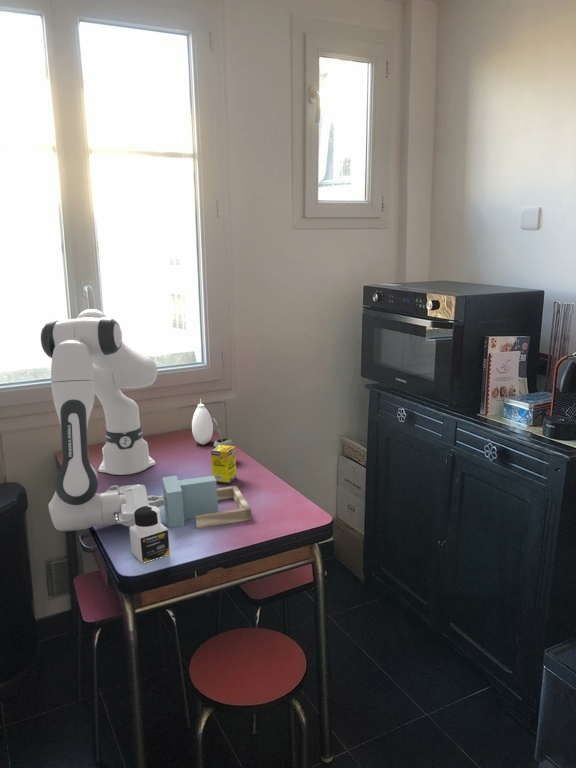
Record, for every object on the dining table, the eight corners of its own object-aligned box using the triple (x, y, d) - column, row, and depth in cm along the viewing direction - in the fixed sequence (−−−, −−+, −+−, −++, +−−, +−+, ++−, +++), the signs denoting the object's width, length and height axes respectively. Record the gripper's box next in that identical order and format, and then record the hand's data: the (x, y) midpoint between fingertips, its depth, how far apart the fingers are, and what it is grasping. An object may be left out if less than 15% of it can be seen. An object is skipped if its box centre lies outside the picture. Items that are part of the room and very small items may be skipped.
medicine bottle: (142, 564, 148) (138, 517, 146) (131, 553, 154) (126, 508, 151) (170, 555, 152) (166, 509, 150) (158, 544, 158) (154, 500, 155)
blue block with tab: (164, 510, 178) (162, 477, 176) (213, 503, 182) (211, 470, 180) (169, 527, 167) (166, 493, 165) (221, 519, 171) (218, 485, 169)
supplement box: (229, 485, 195) (227, 451, 193) (212, 483, 197) (210, 450, 195) (237, 478, 201) (235, 445, 199) (220, 476, 203) (218, 444, 200)
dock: (186, 502, 183) (186, 493, 182) (236, 495, 187) (236, 485, 187) (196, 528, 166) (196, 518, 166) (251, 519, 171) (250, 509, 170)
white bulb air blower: (212, 446, 233) (209, 400, 229) (191, 447, 233) (188, 400, 229) (214, 440, 240) (212, 394, 236) (194, 440, 240) (191, 395, 236)
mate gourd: (231, 466, 212) (229, 424, 208) (209, 465, 213) (206, 423, 210) (237, 458, 219) (234, 417, 215) (215, 458, 220) (212, 417, 217)
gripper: (113, 512, 157) (168, 504, 161) (111, 483, 176) (160, 476, 180) (115, 535, 159) (170, 526, 162) (113, 504, 178) (162, 497, 182)
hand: (165, 500), depth 171 cm, fingers closed, pressing on blue block with tab
